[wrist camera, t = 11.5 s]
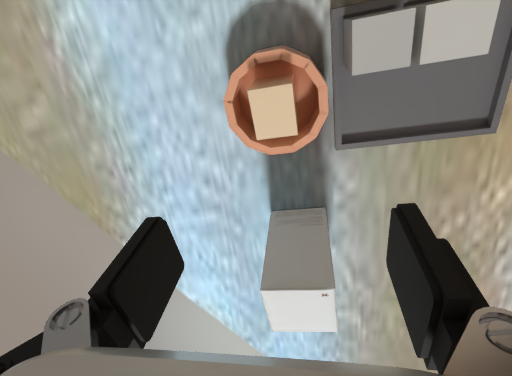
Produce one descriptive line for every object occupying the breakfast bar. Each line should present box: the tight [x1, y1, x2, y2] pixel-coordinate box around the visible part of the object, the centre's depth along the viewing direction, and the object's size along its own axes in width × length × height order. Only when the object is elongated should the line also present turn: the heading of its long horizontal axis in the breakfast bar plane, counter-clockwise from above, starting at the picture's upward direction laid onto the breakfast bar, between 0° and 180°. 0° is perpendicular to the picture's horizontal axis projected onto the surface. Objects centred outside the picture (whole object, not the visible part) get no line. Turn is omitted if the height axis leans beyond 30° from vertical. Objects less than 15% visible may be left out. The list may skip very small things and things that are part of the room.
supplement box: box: [260, 207, 338, 332], centre depth 32 cm, size 7×7×13 cm
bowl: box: [224, 45, 329, 155], centre depth 27 cm, size 10×10×4 cm
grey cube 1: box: [403, 0, 501, 65], centre depth 21 cm, size 4×4×5 cm
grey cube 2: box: [343, 7, 416, 76], centre depth 22 cm, size 4×4×5 cm
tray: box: [330, 0, 512, 150], centre depth 25 cm, size 15×13×1 cm
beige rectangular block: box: [247, 73, 298, 140], centre depth 26 cm, size 4×4×5 cm
